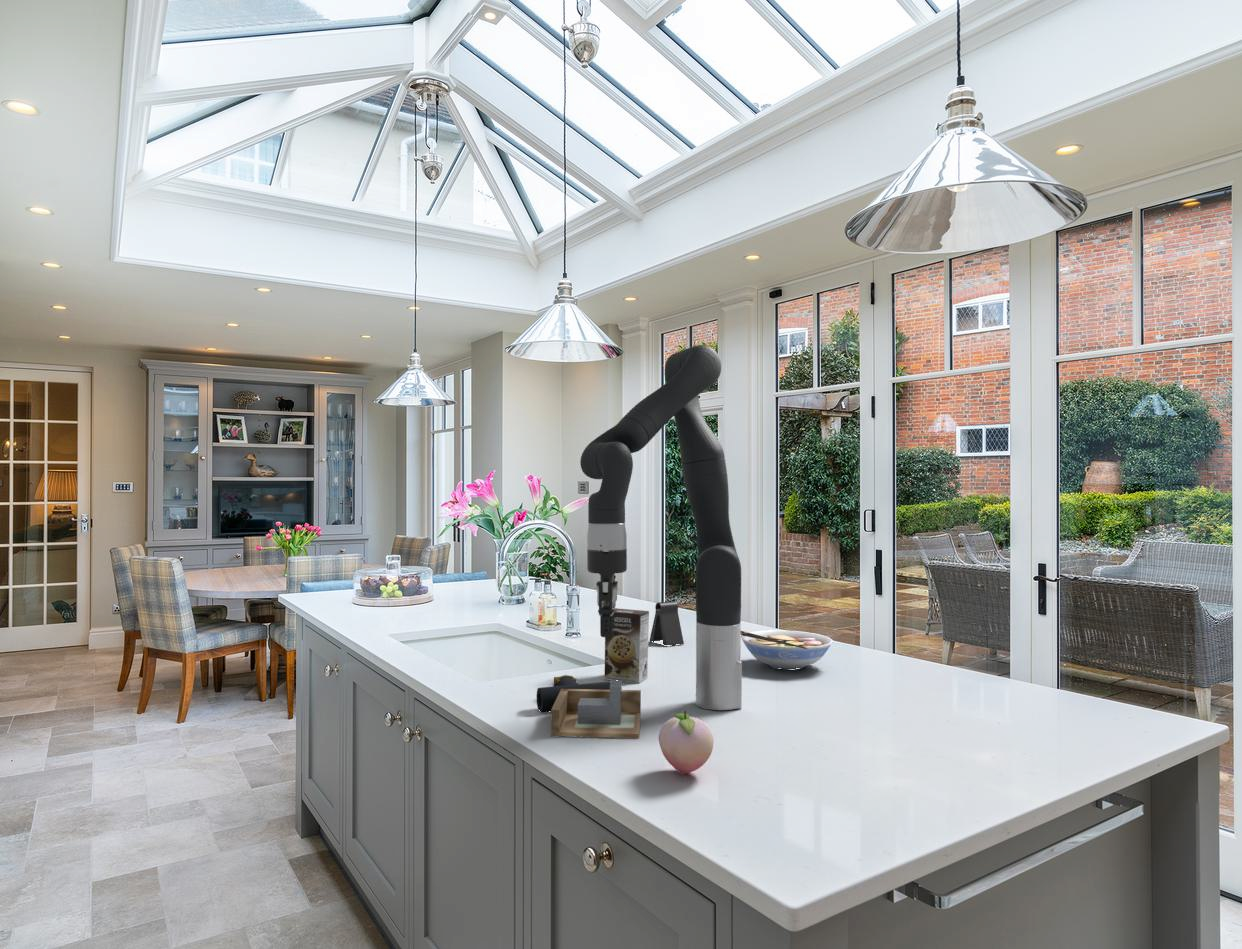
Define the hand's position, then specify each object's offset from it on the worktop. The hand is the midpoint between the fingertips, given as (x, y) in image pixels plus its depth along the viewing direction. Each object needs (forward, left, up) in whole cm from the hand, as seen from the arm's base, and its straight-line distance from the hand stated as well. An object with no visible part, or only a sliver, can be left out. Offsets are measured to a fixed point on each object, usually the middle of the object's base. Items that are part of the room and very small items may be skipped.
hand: (607, 632), depth 149 cm
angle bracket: (+1, 0, -17) cm, 17 cm away
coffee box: (-2, -37, -18) cm, 41 cm away
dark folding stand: (-12, -80, -18) cm, 83 cm away
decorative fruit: (-14, +24, -18) cm, 33 cm away
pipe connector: (+9, -15, -18) cm, 25 cm away
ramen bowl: (-42, -52, -18) cm, 70 cm away
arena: (+2, -1, -18) cm, 18 cm away
